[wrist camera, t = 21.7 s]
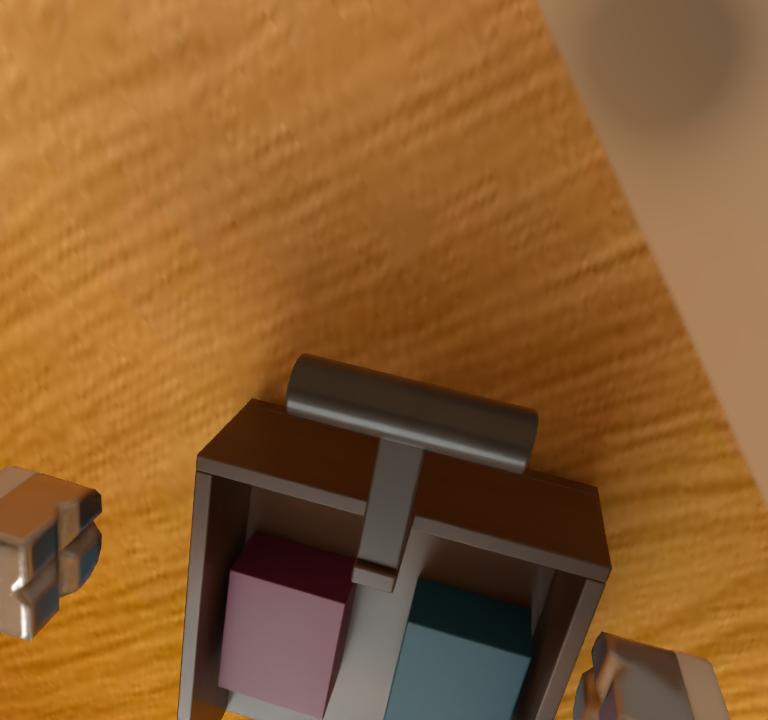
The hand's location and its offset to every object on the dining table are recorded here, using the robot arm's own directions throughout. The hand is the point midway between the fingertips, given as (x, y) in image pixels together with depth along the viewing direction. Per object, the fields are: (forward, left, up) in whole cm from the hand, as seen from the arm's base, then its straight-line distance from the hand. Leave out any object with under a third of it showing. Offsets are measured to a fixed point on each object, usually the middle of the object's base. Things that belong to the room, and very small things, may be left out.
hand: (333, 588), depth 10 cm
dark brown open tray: (0, +10, -13) cm, 17 cm away
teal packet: (-4, +13, -13) cm, 19 cm away
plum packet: (+3, +13, -13) cm, 19 cm away
